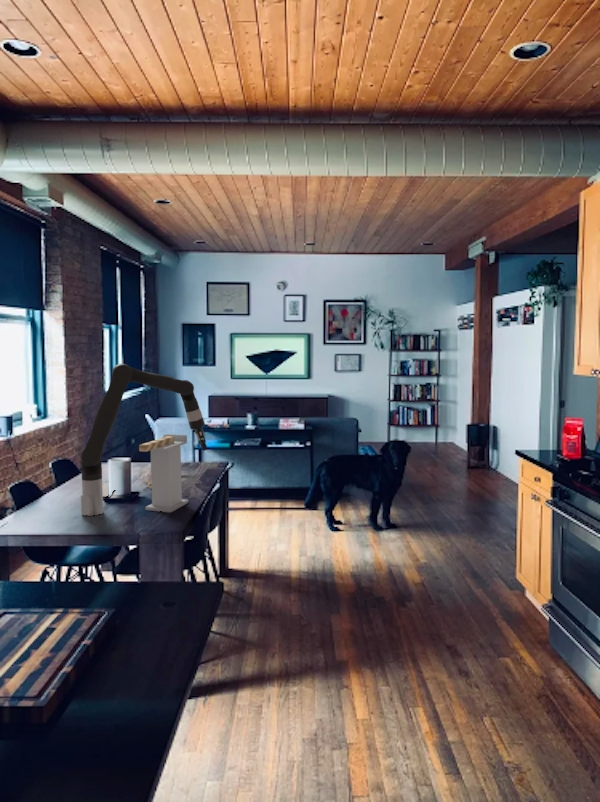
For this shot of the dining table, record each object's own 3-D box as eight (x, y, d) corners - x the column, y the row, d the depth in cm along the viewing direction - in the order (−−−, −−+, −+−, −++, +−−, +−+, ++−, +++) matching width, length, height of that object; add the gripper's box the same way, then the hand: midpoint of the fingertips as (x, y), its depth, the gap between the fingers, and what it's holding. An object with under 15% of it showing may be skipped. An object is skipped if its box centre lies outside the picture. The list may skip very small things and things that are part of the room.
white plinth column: (168, 513, 294) (166, 442, 290) (143, 511, 298) (141, 440, 294) (190, 501, 315) (188, 435, 311) (166, 499, 319) (164, 433, 315)
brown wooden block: (146, 451, 283) (145, 445, 282) (139, 451, 284) (139, 444, 283) (173, 442, 307) (173, 436, 307) (167, 442, 308) (167, 436, 308)
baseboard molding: (86, 499, 322) (110, 498, 324) (86, 494, 322) (109, 493, 323) (99, 485, 353) (120, 484, 354) (99, 480, 353) (120, 479, 354)
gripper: (186, 418, 313) (195, 447, 316) (189, 423, 299) (198, 453, 303) (200, 413, 314) (208, 442, 318) (204, 418, 301) (213, 448, 305)
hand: (203, 448), depth 310 cm, fingers open, 8 cm apart
